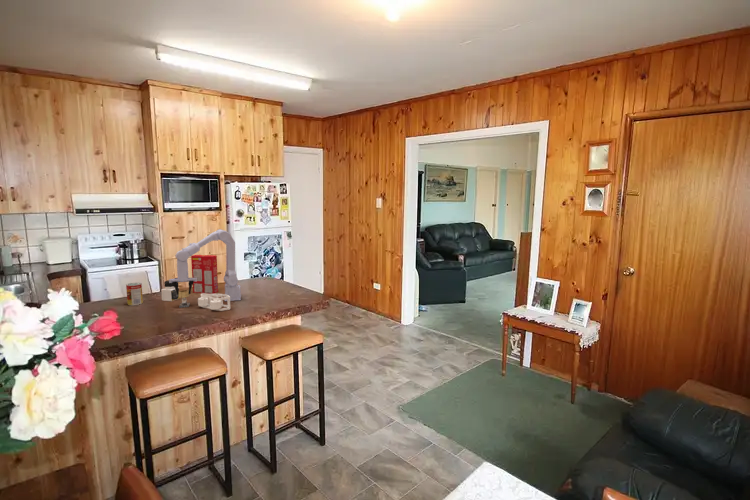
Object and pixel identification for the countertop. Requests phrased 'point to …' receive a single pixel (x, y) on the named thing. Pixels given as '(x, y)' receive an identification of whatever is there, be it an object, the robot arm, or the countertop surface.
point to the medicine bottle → (169, 292)
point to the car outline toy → (213, 301)
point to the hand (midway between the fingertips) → (183, 294)
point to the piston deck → (184, 303)
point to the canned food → (134, 293)
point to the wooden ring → (183, 293)
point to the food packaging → (205, 273)
